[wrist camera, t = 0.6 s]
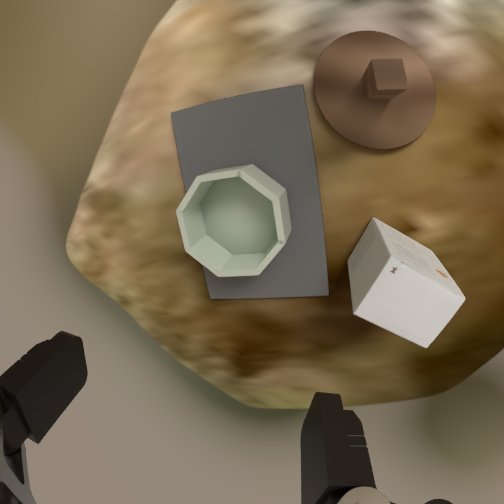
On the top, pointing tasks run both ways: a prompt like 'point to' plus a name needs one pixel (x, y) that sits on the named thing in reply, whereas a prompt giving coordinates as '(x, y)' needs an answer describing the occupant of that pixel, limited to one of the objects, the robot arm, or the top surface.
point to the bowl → (234, 220)
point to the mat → (275, 166)
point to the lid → (374, 89)
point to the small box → (401, 285)
